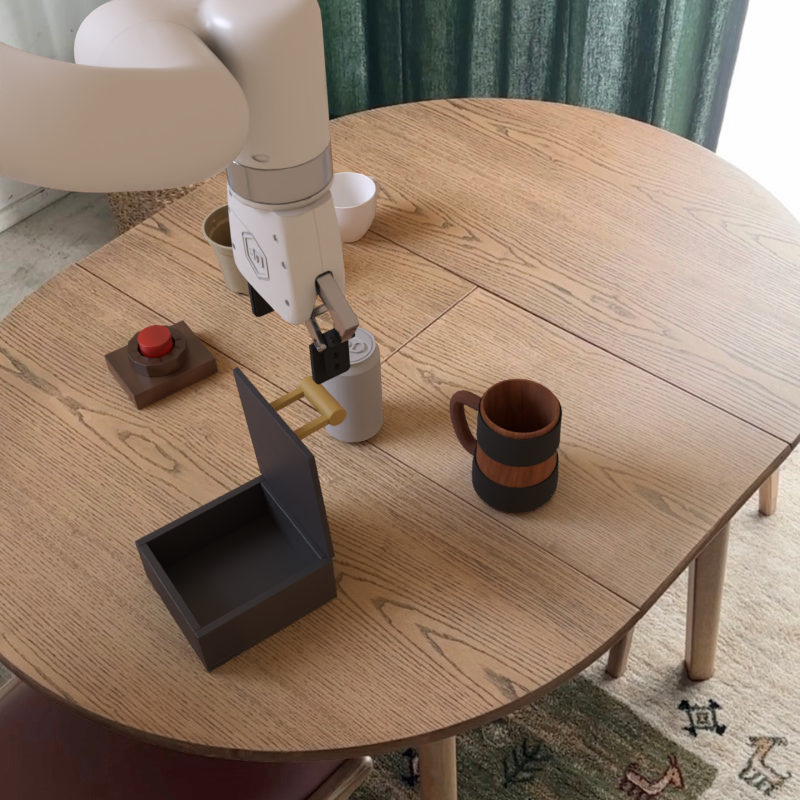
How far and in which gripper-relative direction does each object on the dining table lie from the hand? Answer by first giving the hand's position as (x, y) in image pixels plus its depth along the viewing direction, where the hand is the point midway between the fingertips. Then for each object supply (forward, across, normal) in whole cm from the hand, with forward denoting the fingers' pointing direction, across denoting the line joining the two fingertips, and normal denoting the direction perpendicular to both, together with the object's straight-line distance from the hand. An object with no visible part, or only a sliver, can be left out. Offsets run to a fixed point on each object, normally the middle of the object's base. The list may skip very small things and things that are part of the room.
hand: (300, 341), depth 87 cm
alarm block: (+25, -30, -3) cm, 39 cm away
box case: (+25, +1, -10) cm, 27 cm away
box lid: (+12, +1, -4) cm, 13 cm away
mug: (+25, +5, +18) cm, 32 cm away
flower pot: (+25, -38, +13) cm, 47 cm away
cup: (+25, -39, +29) cm, 55 cm away
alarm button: (+22, -30, -3) cm, 37 cm away
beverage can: (+25, -10, +10) cm, 29 cm away
